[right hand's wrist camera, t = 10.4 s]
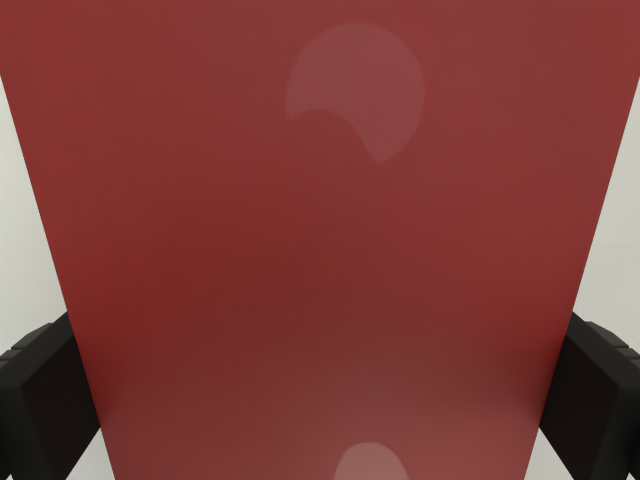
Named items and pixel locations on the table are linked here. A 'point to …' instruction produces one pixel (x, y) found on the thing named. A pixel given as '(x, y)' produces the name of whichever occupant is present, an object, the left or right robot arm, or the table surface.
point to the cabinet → (319, 221)
